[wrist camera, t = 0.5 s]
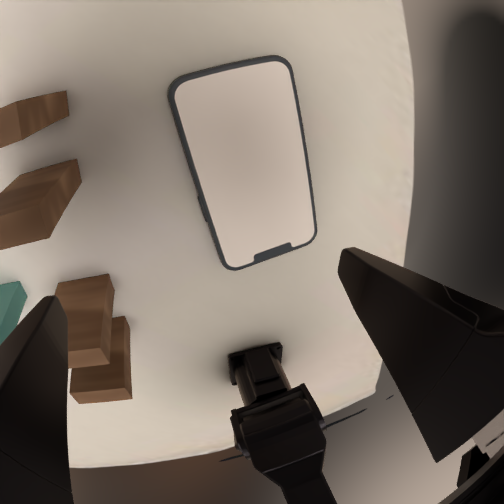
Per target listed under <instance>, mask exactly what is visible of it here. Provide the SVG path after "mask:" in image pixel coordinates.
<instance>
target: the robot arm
mask: <svg viewBox="0 0 504 504" xmlns="http://www.w3.org/2000/svg"><path fill="white" fill-rule="evenodd" d="M338 275H339V278H340V280H341V282H342V284H343V286H344V289H345V291H346V293H347V295H348V297H349V299H350V301H351V304H352V306H353V308H354V310H355V312H356V314H357V316H358V317H359V319H360V321H361V323H362V324H363V326H364V328H365V329H366V331H367V333H368V335H369V336H370V338H371V340H372V342H373V343H374V345H375V347H376V349H377V350H378V352H379V354H380V356H381V357H382V359H383V361H384V363H385V365H386V366H387V368H388V370H389V372H390V374H391V376H392V377H393V379H394V381H395V383H396V385H397V386H398V389H399V390H400V392H401V394H402V396H403V398H404V400H405V402H406V404H407V406H408V408H409V410H410V412H411V413H412V416H413V418H414V419H415V422H416V423H417V426H418V428H419V430H420V432H421V434H422V436H423V438H424V440H425V442H426V444H427V446H428V448H429V450H430V452H431V454H432V456H433V459H434V460H435V462H436V463H437V462H439V461H440V460H442V459H443V458H445V457H446V456H447V455H449V454H450V453H452V452H453V451H454V450H456V449H457V448H459V447H460V446H461V445H463V444H464V443H465V442H466V441H468V440H469V439H470V438H471V437H472V438H473V440H474V441H475V443H476V445H475V446H474V447H472V448H471V449H470V450H469V451H468V452H466V453H465V454H464V455H463V456H462V460H461V466H460V472H459V476H458V481H457V487H458V489H456V490H455V491H454V492H453V493H451V494H450V495H449V496H448V497H446V498H445V499H444V500H442V501H441V502H440V503H439V504H504V310H503V309H501V308H498V307H496V306H493V305H491V304H488V303H485V302H483V301H480V300H478V299H475V298H473V297H470V296H468V295H465V294H463V293H461V292H459V291H456V290H454V289H452V288H449V287H447V286H445V285H444V286H443V285H442V284H440V283H438V282H436V281H434V280H431V279H429V278H427V277H425V276H422V275H420V274H418V273H415V272H413V271H411V270H408V269H406V268H404V267H401V266H399V265H397V264H394V263H392V262H389V261H387V260H385V259H382V258H380V257H377V256H375V255H373V254H370V253H368V252H365V251H363V250H360V249H358V248H355V247H350V248H345V249H343V250H342V252H341V256H340V261H339V266H338ZM282 348H283V347H282V344H281V343H276V344H272V345H268V346H264V347H260V348H256V349H252V350H248V351H243V352H239V353H235V354H231V355H229V356H228V363H229V370H230V378H231V383H232V385H238V388H239V391H240V394H241V397H242V400H243V403H244V406H245V407H242V408H239V409H233V410H231V413H232V416H231V417H230V420H231V423H232V427H233V431H234V441H235V447H236V449H237V450H239V451H241V452H242V453H243V455H244V456H245V457H246V459H247V460H250V459H251V460H252V463H253V465H254V467H255V468H256V469H257V470H258V471H260V472H261V473H262V474H263V475H265V476H266V477H267V478H269V479H270V480H271V481H273V482H274V483H276V484H277V485H278V486H280V487H281V489H282V492H283V494H284V496H285V499H286V501H287V503H288V504H337V503H336V500H335V498H334V496H333V494H332V492H331V490H330V488H329V486H328V484H327V482H326V479H325V477H324V475H323V467H324V461H325V455H326V439H325V436H324V434H323V432H324V431H326V430H327V428H326V424H325V422H324V419H323V417H322V414H321V412H320V410H319V408H318V406H317V405H316V403H315V401H314V399H313V398H312V396H311V394H310V392H309V391H308V389H307V387H306V385H305V384H304V383H303V384H300V386H297V387H295V388H291V386H290V384H289V382H288V379H287V377H286V375H285V373H284V371H283V368H282V366H281V358H282ZM67 383H68V319H67V315H66V313H65V311H64V309H63V307H62V305H61V303H60V301H59V299H58V297H57V296H55V295H52V296H46V297H44V298H43V299H42V300H41V301H40V302H39V303H38V304H37V305H36V306H35V307H34V308H33V309H32V310H31V311H30V312H29V313H28V314H27V315H26V317H25V318H24V319H23V320H22V321H21V322H20V323H19V324H18V325H17V326H16V328H15V329H14V330H13V331H12V332H11V333H10V334H9V335H8V337H7V338H6V339H5V340H4V341H3V342H2V344H1V345H0V504H74V502H73V495H72V493H71V492H72V489H71V480H70V471H69V459H68V442H67Z"/></svg>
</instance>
